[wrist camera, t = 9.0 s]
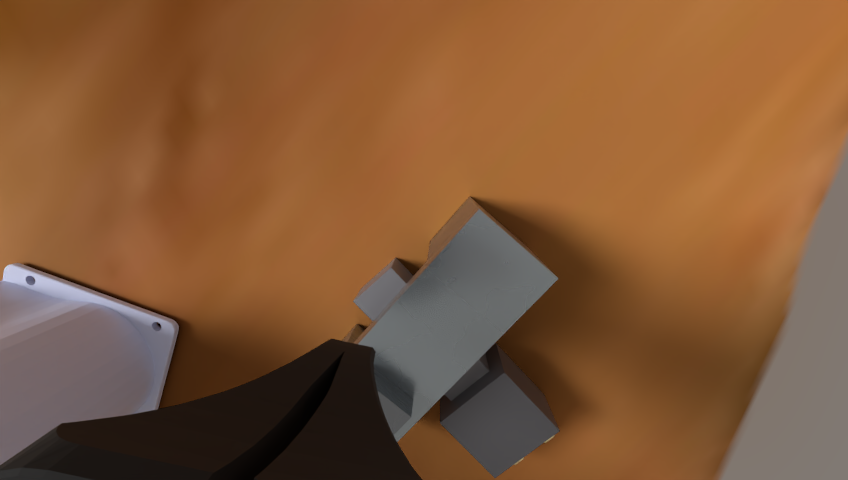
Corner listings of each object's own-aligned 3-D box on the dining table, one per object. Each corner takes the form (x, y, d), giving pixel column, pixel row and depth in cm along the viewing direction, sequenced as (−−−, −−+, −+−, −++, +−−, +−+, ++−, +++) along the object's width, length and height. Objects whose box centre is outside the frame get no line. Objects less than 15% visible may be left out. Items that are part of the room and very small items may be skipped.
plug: (351, 297, 21) (336, 319, 18) (406, 247, 20) (400, 262, 17) (499, 448, 22) (508, 491, 19) (555, 406, 22) (573, 445, 19)
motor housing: (323, 362, 22) (274, 443, 15) (469, 196, 20) (482, 212, 13) (379, 406, 22) (354, 503, 16) (529, 248, 20) (568, 288, 14)
